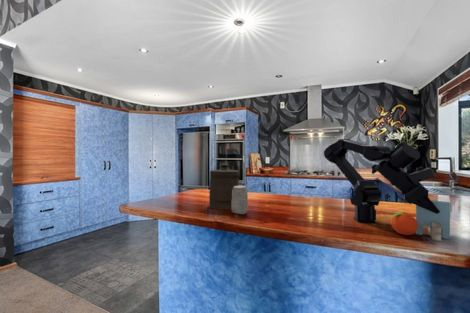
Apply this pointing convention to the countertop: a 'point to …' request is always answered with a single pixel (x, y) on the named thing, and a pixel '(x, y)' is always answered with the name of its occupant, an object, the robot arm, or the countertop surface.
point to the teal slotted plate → (434, 218)
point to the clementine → (404, 223)
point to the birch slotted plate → (435, 231)
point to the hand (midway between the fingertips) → (437, 212)
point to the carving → (239, 199)
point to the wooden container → (222, 187)
